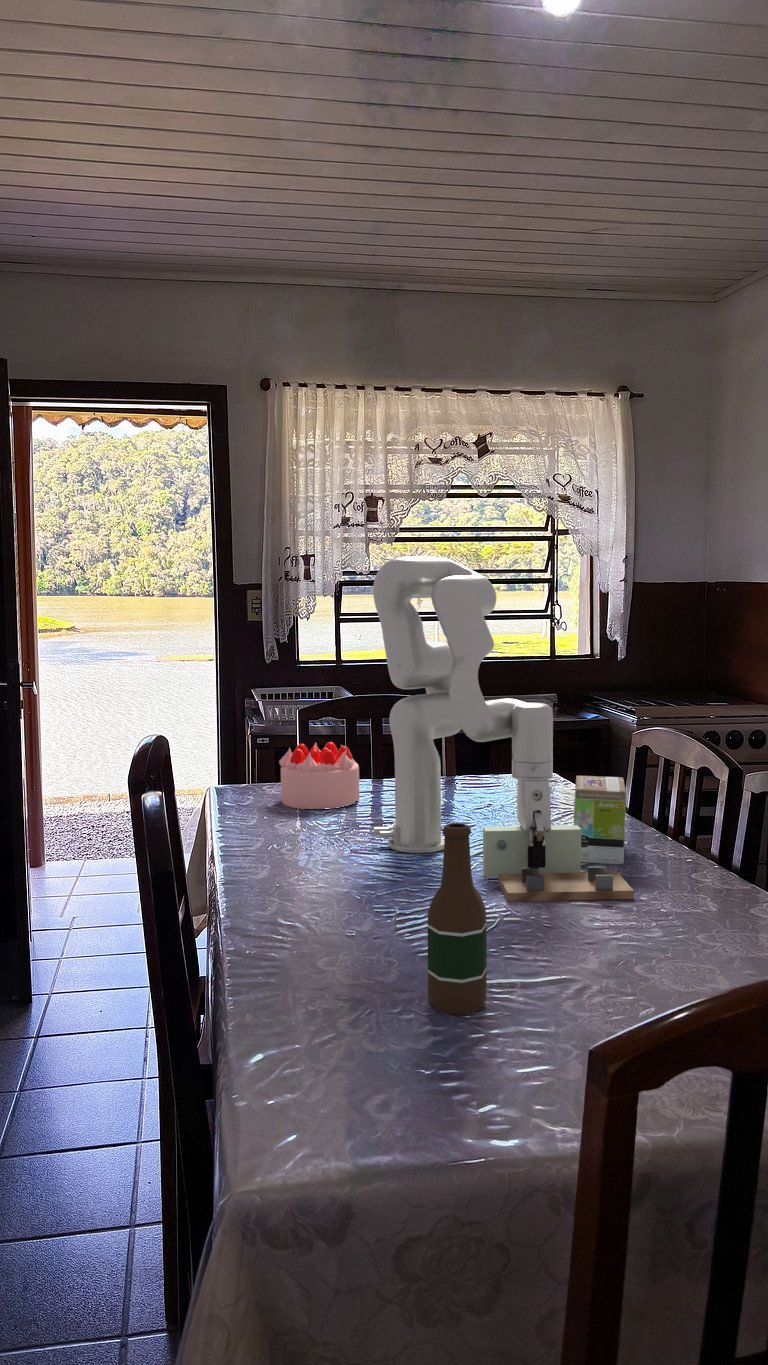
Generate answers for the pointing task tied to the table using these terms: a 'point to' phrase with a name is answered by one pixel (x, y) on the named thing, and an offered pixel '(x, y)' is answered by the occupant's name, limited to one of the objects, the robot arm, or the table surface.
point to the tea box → (601, 818)
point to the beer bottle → (457, 932)
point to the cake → (319, 777)
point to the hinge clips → (594, 874)
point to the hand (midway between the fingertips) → (532, 860)
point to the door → (510, 850)
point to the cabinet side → (564, 888)
